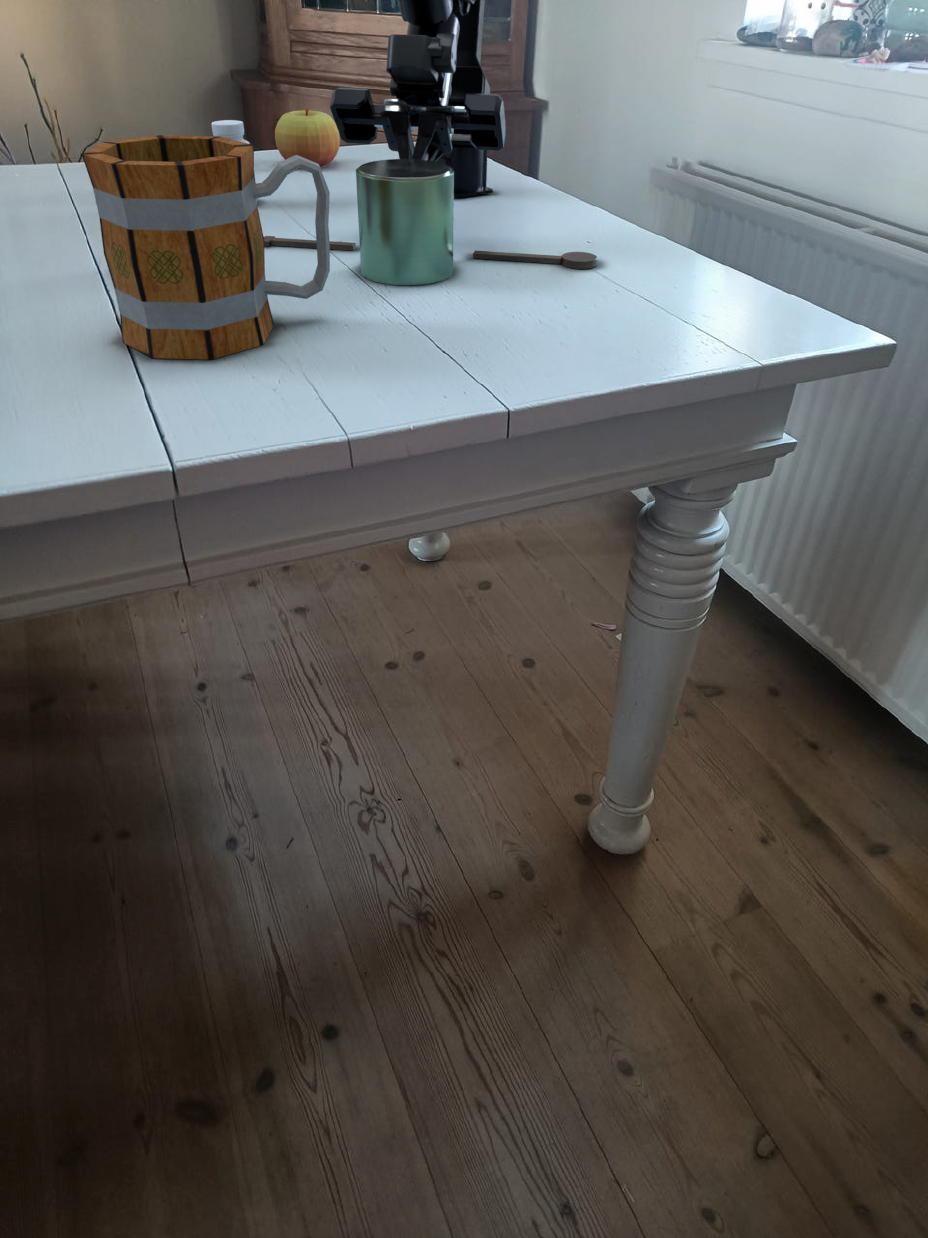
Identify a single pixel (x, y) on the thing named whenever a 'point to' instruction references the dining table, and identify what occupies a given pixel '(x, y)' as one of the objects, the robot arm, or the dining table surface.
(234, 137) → the pill bottle
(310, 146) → the apple
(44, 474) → the dining table surface
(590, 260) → the spoon
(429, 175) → the can
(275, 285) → the mug
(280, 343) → the dining table surface
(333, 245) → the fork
